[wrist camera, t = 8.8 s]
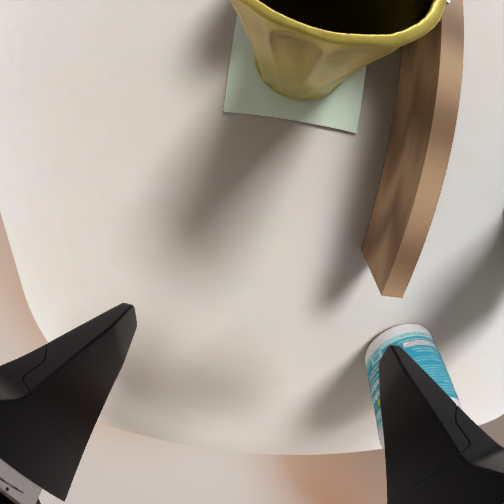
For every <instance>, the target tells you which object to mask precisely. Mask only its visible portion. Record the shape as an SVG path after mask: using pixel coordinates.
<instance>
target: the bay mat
mask: <svg viewBox="0 0 504 504" xmlns="http://www.w3.org/2000/svg"><path fill="white" fill-rule="evenodd" d="M366 68H367V65H366V66H364V67H362V68H361V69H359V70H358V71H357V72H356V73H354V74H353V75H351V76H349V77H348V78H347V79H346V80H344V81H343V82H342V84H341V85H340V86H339V87H338V88H336V89H335V90H334V91H333V92H331V93H330V94H329V95H327V96H325V97H323V98H320V99H316V100H309V101H298V100H293V99H289V98H286V97H283V96H281V95H279V94H278V93H276V92H275V91H273V90H272V89H271V88H269V87H268V86H267V85H266V84H265V83H264V82H263V81H262V79H261V77H260V76H259V74H258V72H257V69H256V66H255V61H254V51H253V47H252V43H251V41H250V39H249V38H248V36H247V34H246V32H245V30H244V27H243V25H242V22H241V20H240V18H239V16H238V14H237V16H236V22H235V29H234V35H233V42H232V49H231V56H230V63H229V70H228V78H227V85H226V93H225V101H224V110H223V112H232V113H242V114H251V115H259V116H267V117H274V118H281V119H287V120H293V121H299V122H305V123H310V124H316V125H321V126H326V127H330V128H335V129H340V130H344V131H348V132H353V133H357V127H358V121H359V115H360V109H361V103H362V96H363V90H364V83H365V75H366Z"/></svg>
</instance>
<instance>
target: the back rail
mask: <svg viewBox="0 0 504 504" xmlns="http://www.w3.org/2000/svg"><path fill="white" fill-rule="evenodd" d="M463 50H464V16H463V0H450V3H449V4H447V5H445V8H444V11H443V14H442V17H441V19H440V21H439V22H438V23H437V25H436V26H435V27H434V28H433V29H432V30H430V31H429V32H428V33H427V34H425V35H423V36H422V37H420V38H418V39H416V40H415V41H412V42H410V43H408V44H406V45H403V46H402V56H401V65H400V74H399V82H398V89H397V96H396V103H395V109H394V115H393V121H392V127H391V132H390V138H389V143H388V148H387V153H386V157H385V162H384V166H383V171H382V175H381V179H380V184H379V188H378V192H377V196H376V200H375V203H374V207H373V211H372V215H371V218H370V222H369V225H368V229H367V232H366V236H365V239H364V242H363V246H362V249H361V251H362V253H363V256H364V258H365V260H366V262H367V264H368V266H369V268H370V271H371V273H372V275H373V277H374V279H375V282H376V284H377V286H378V288H379V291H380V293H381V295H383V296H390V297H398V298H402V297H403V295H404V293H405V290H406V288H407V286H408V283H409V281H410V279H411V276H412V274H413V271H414V269H415V266H416V264H417V261H418V259H419V256H420V254H421V251H422V248H423V245H424V243H425V240H426V237H427V234H428V231H429V228H430V225H431V222H432V219H433V216H434V213H435V210H436V206H437V203H438V200H439V196H440V193H441V189H442V185H443V181H444V178H445V174H446V170H447V165H448V161H449V157H450V152H451V147H452V142H453V137H454V132H455V126H456V120H457V114H458V107H459V99H460V91H461V81H462V69H463Z"/></svg>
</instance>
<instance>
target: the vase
mask: <svg viewBox="0 0 504 504" xmlns="http://www.w3.org/2000/svg"><path fill="white" fill-rule="evenodd" d="M229 1H230V3H231V5H232V6H233V8H234V10H235V11H236V13H237V14H238V16H239V18H240V20H241V22H242V25H243V27H244V30H245V32H246V34H247V36H248V38H249V39H250V41H251V43H252V47H253V51H254V61H255V66H256V69H257V72H258V74H259V76H260V77H261V79H262V81H263V82H264V83H265V84H266V85H267V86H268V87H269V88H271V89H272V90H273V91H275V92H276V93H278V94H279V95H281V96H283V97H286V98H289V99H293V100H298V101H309V100H316V99H320V98H323V97H325V96H327V95H329V94H330V93H331V92H333V91H334V90H335V89H336V88H338V87H339V86H340V85H341V84H342V82H343V81H344V80H346V79H347V78H348V77H349V76H351V75H353V74H354V73H356V72H357V71H358V70H359V69H361V68H362V67H364V66H366V65H368V64H370V63H372V62H374V61H376V60H378V59H381V58H383V57H385V56H387V55H389V54H390V53H392V52H394V51H395V50H397V49H398V48H400V47H401V46H403V45H406V44H408V43H410V42H412V41H415V40H416V39H418V38H420V37H422V36H423V35H425V34H427V33H428V32H429V31H430V30H432V29H433V28H434V27H435V26H436V25H437V23H438V22H439V21H440V19H441V17H442V14H443V11H444V8H445V5H446V2H447V0H229Z"/></svg>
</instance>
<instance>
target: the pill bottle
mask: <svg viewBox="0 0 504 504" xmlns="http://www.w3.org/2000/svg"><path fill="white" fill-rule="evenodd" d="M389 345H399V346H400V347H402V348H403V349H404V350H405V351H406V352H407V353H408V354H409V355H410V356H411V357H412V358H413V360H414V361H415V362H416V363H417V364H418V365H419V366H420V367H421V368H422V369H423V370H424V371H425V372H426V373H427V374H428V375H429V376H430V377H431V378H432V379H433V380H434V381H435V382H436V383H437V384H438V385H439V386H440V387H441V388H442V389H443V390H444V391H445V392H446V394H447V395H448V396H449V397H450V398H451V399H452V400H453V401H454V402H455V403H456V404H457V405H458V406H459V407H460V408H461V405H460V402H459V399H458V396H457V394H456V391H455V389H454V386H453V384H452V381H451V379H450V377H449V374H448V372H447V369H446V367H445V365H444V362H443V360H442V358H441V355H440V353H439V351H438V349H437V347H436V344H435V342H434V340H433V338H432V336H431V334H430V332H429V331H428V330H427V329H426V328H424V327H423V326H421V325H418V324H402V325H398V326H395V327H392V328H390V329H388V330H386V331H384V332H383V333H381V334H380V335H379V336H378V337H376V338H375V339H374V340H373V342H372V343H371V344H370V346H369V347H368V349H367V352H366V355H365V365H366V369H367V374H368V379H369V384H370V389H371V394H372V399H373V405H374V410H375V416H376V422H377V428H378V435H379V440H380V444H381V446H382V448H383V449H384V450H385V446H384V435H383V425H382V416H381V408H380V391H379V361H380V359H381V357H382V355H383V354H384V352H385V350H386V348H387V347H388V346H389ZM457 405H456V406H457ZM461 409H462V408H461Z"/></svg>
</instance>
